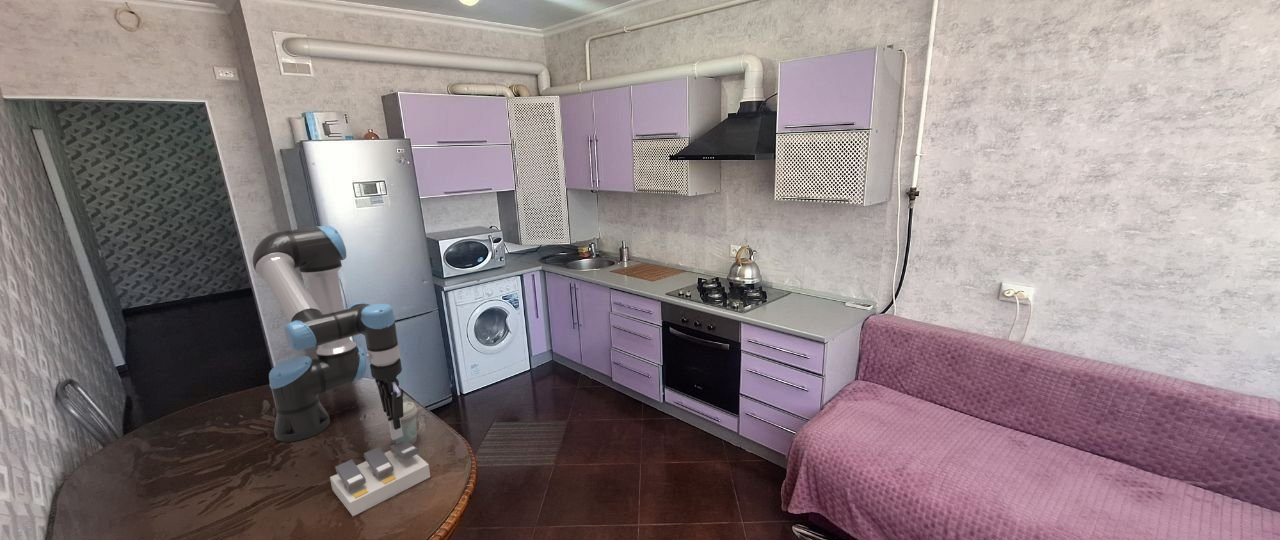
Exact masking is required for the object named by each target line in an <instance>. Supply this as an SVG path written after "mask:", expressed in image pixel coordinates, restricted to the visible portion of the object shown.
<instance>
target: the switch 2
mask: <svg viewBox="0 0 1280 540" xmlns="http://www.w3.org/2000/svg"><path fill="white" fill-rule="evenodd" d="M384 453H385V452H384V451H383V450H382V448H381V447H380V446H377V447H374V448H373V449H370V450H368V451H366V452H364V453H363V458H364V460H365V461H367V463H368V464H369V466H370V467H371V469H372V470H373V472H374V473H375V474H376V476H377V477H378V478H380V477H383V476H385V475H387V474H389V473H391V472H393V471H394V467H393V465H392V464H391V462H390V461H389V460H388V458H387V457H386V455H385V454H384Z"/></svg>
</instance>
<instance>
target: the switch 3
mask: <svg viewBox="0 0 1280 540" xmlns="http://www.w3.org/2000/svg"><path fill="white" fill-rule="evenodd" d="M389 448H390V450H391V452H393V453H394V454H396V455H397V456H399V457H400V458H402V459H403V460H406V459H408V458H410V457H412V456H414V455H416V454H417V455H419V453H420V452H419V448H418V447H416V446H415V445H414V444H413V445H412V444H410V443H408V442H407V441H405V440H403V441H401V442H399V443H396V442H395V443H394V444H393V445H392V444H391V445H389Z"/></svg>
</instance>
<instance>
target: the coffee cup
mask: <svg viewBox="0 0 1280 540" xmlns="http://www.w3.org/2000/svg"><path fill="white" fill-rule="evenodd" d="M417 413H418V408H417V406H416V405H415V403H414V402H412V401H403V417H401V418H400V419H401V425H402V432H403V436H402V437H400V438H397V439H395V440H394V441H395V444H396V443H399V442H401V441H403V440H405V441H407V442H408V443H410V444H412V445H413V446H414V445H415V444H416V443H417V440H418V439H417V438H418V436H417V435H418V433H417V429H418V428H417V425H418V424H417ZM388 418H389V417H388V416H387V415H386V419H387V420H388Z"/></svg>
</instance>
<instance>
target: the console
mask: <svg viewBox="0 0 1280 540" xmlns="http://www.w3.org/2000/svg"><path fill="white" fill-rule="evenodd" d="M383 453H384V454H385V455H386V457H387V458H388V460H389V461H390V462H391V464H392V465H393V467H394V471H393V472H391V473H389V474H387V475H385V476H383V477H380V478H378V477H377V476H376V474H375V473H374V472H373V470H372V469H371V467H370V466H369V464H368V463H367V461H366V460H365V461H363V462H361V463H359V464H357V465H356V464H355V465H356V466H357V467H358V469H359V470H360V471H361V473H362V474H363V476H364V477H365V479H366V483H365V484H363V485H361V486H359V487H357V488H355V489H352V490H350V491H349V490H348V488H347V487H346V485H345V484H344V482H343V481H342V479H341V478H340V477H339V475H338V474H337V473H336V474H334V475H331V476H330V477H329V480H330V484H331V489H332V492H333V493H334V494H335V496H337V498H338V499H339V501H340V502H341V503H342V505H344V507H345V508H346V509H347V511H348V512H349V513H350V514H351V516H352V517H354V516H355V517H356V516H357V515H359V514H360V513H363V512H364V511H366V510H368V509H370V508H373V507H374V506H377V505H379V504H381V503H383V502H384V501H386V500H388V499H390V498H392V497H395V496H396V495H398V494H400V493H402V492H404V491H406V490H407V489H410V488H412V487H414V486H416V485H417V484H419V483H421V482H424V481H425V480H427V479H429V478H431V473H430V472H431V471H430V465H429V463H428V462H427V461H426V460H424V459H423V458H422V457H421V456H420V455H419V454H416V455H414V456H412V457H410V458H408V459H406V460H403V459H402V458H400V457H399V456H397V455H396V454H394V453H393V452H391V449H390V450H387V451H385V452H383Z"/></svg>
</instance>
